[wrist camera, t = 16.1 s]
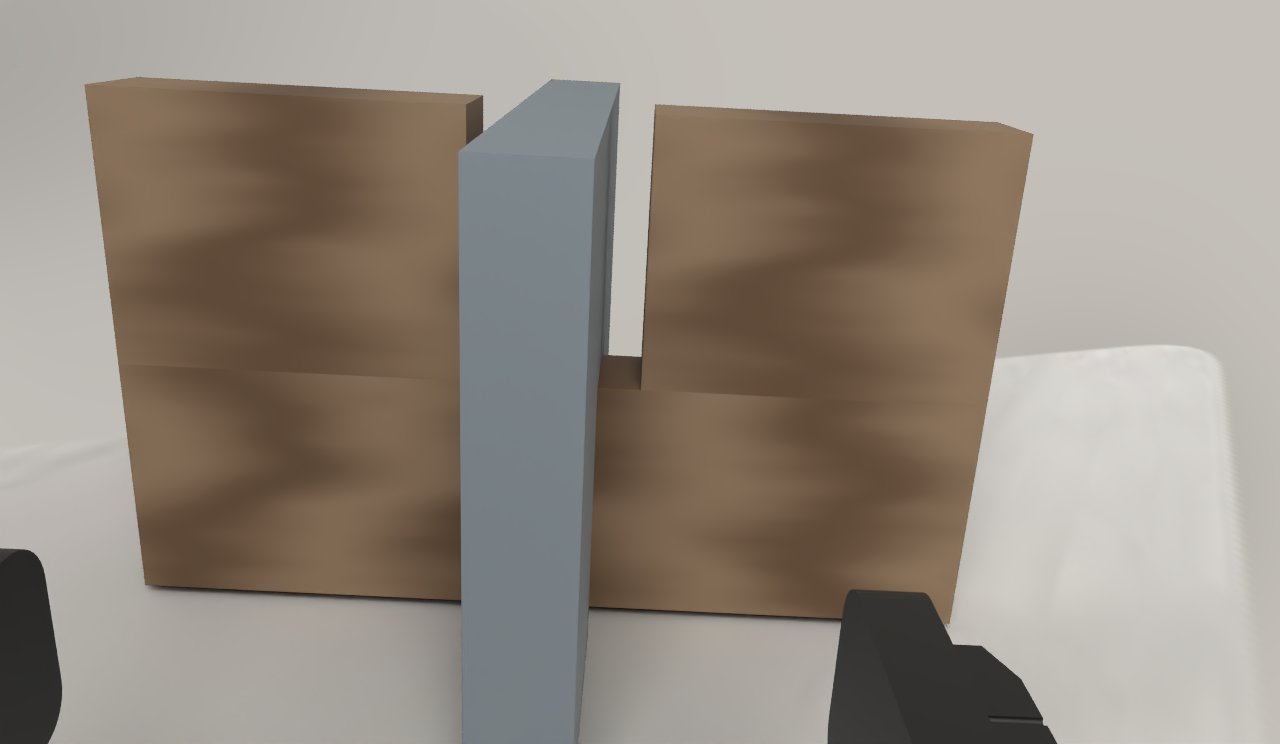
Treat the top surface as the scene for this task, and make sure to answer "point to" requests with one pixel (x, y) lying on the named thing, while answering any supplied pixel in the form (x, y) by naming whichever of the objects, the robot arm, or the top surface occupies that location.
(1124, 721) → the top surface
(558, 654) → the slate plate
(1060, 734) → the top surface
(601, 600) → the walnut board
